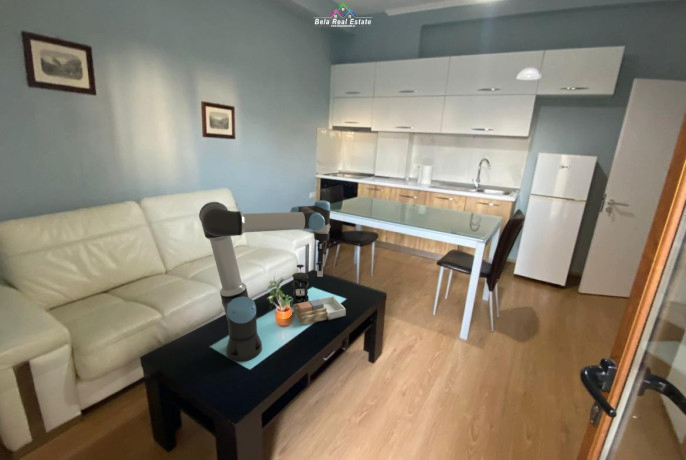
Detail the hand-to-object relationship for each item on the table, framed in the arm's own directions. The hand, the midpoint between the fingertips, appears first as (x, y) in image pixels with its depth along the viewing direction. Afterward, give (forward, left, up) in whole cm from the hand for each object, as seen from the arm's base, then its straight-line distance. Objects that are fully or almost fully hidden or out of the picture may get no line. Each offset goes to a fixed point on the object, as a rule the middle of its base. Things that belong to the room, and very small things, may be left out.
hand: (320, 271), depth 165 cm
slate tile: (-2, +1, -21) cm, 21 cm away
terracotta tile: (-8, +1, -21) cm, 23 cm away
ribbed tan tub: (-5, +1, -25) cm, 26 cm away
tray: (+7, +1, -25) cm, 26 cm away
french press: (-5, +17, -26) cm, 31 cm away
